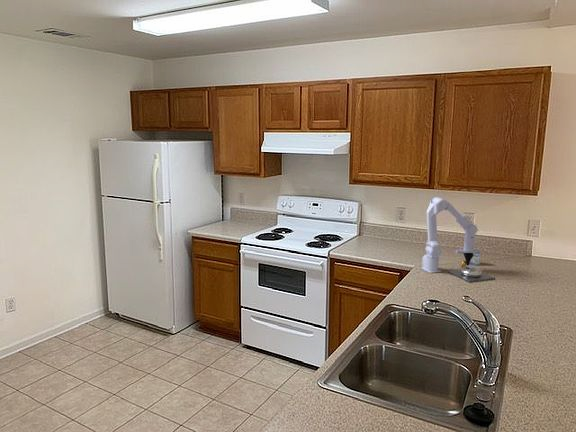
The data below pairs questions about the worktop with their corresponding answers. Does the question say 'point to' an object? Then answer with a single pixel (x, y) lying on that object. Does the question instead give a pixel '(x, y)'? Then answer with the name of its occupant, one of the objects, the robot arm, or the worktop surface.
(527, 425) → the worktop surface
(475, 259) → the medicine box
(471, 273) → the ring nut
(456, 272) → the base plate
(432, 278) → the worktop surface
